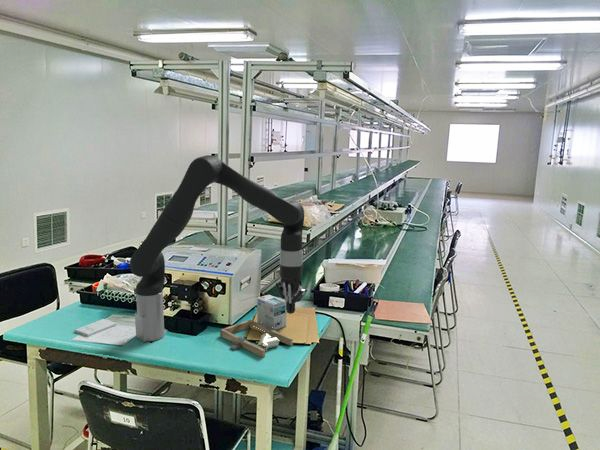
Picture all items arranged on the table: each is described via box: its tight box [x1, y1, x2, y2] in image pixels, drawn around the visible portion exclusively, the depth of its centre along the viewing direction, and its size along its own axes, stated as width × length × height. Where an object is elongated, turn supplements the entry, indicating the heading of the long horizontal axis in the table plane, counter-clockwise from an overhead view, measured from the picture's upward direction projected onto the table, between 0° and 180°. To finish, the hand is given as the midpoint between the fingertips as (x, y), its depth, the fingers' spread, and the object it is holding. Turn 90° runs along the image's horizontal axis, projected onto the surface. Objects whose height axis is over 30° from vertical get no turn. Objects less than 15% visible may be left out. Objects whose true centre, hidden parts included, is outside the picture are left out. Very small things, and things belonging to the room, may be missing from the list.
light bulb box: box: [256, 294, 287, 330], centre depth 185 cm, size 11×7×11 cm, turn 44°
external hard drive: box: [74, 318, 118, 338], centre depth 179 cm, size 2×8×12 cm
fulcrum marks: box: [229, 327, 281, 351], centre depth 171 cm, size 22×3×3 cm, turn 135°
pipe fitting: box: [256, 333, 280, 352], centre depth 165 cm, size 8×4×7 cm
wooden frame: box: [219, 319, 294, 358], centre depth 171 cm, size 14×24×2 cm, turn 45°
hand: (290, 312), depth 156 cm, fingers closed
